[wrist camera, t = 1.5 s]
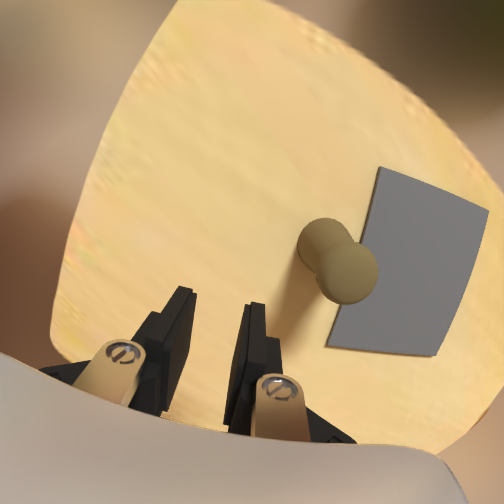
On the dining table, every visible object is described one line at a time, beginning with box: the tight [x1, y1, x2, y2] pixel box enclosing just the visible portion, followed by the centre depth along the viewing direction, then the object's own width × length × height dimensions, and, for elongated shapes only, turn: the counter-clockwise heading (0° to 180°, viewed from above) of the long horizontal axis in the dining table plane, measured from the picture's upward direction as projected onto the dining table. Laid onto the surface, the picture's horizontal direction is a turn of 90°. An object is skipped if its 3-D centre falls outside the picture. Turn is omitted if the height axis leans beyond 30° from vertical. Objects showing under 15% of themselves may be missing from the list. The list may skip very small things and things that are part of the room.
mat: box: [327, 167, 489, 356], centre depth 32 cm, size 22×18×1 cm
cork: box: [297, 218, 378, 305], centre depth 27 cm, size 6×6×11 cm
